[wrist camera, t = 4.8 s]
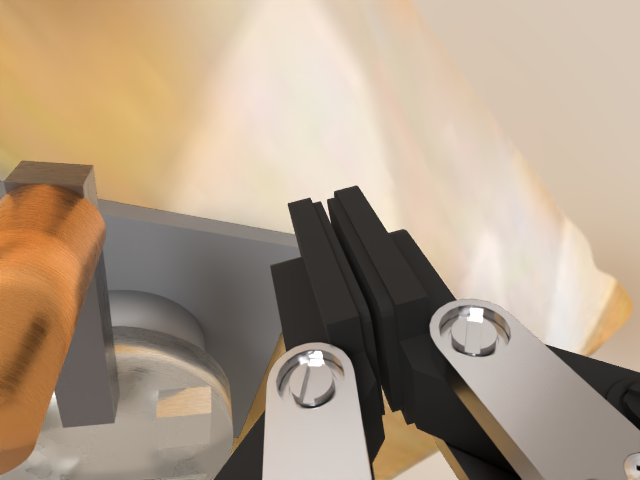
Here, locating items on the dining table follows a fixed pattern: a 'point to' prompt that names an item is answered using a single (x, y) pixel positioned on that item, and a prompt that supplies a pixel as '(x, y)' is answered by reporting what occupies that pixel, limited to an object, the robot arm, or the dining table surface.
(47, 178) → the multicoloured piece
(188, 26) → the dining table surface
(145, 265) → the thin grey metal plate
